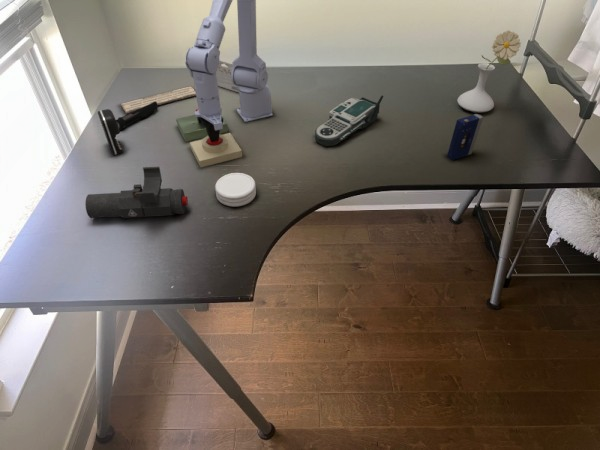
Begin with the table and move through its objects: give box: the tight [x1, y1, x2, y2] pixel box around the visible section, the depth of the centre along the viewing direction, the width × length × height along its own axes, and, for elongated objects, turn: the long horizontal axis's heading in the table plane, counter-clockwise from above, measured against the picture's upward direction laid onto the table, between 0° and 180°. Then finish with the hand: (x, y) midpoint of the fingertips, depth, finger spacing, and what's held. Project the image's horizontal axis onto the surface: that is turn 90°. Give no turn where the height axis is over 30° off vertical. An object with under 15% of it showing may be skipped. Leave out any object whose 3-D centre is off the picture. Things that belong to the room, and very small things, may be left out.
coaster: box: [214, 172, 257, 208], centre depth 112 cm, size 10×10×4 cm
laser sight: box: [84, 166, 189, 219], centre depth 104 cm, size 10×22×10 cm, turn 95°
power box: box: [189, 132, 243, 168], centre depth 125 cm, size 12×10×4 cm
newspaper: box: [120, 86, 196, 115], centre depth 147 cm, size 24×7×2 cm, turn 121°
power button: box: [207, 137, 222, 146], centre depth 124 cm, size 4×4×2 cm
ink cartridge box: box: [216, 60, 239, 94], centre depth 151 cm, size 2×11×10 cm, turn 57°
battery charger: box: [97, 108, 124, 156], centre depth 124 cm, size 7×4×11 cm, turn 28°
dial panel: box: [175, 114, 229, 143], centre depth 134 cm, size 13×9×3 cm
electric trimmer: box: [116, 102, 159, 131], centre depth 138 cm, size 4×16×3 cm, turn 142°
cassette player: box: [446, 113, 484, 161], centre depth 122 cm, size 7×2×12 cm, turn 118°
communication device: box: [314, 95, 384, 147], centre depth 133 cm, size 12×24×9 cm, turn 137°
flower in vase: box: [456, 29, 522, 113], centre depth 137 cm, size 13×11×25 cm
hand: (214, 140), depth 123 cm, fingers closed, pressing on power button
